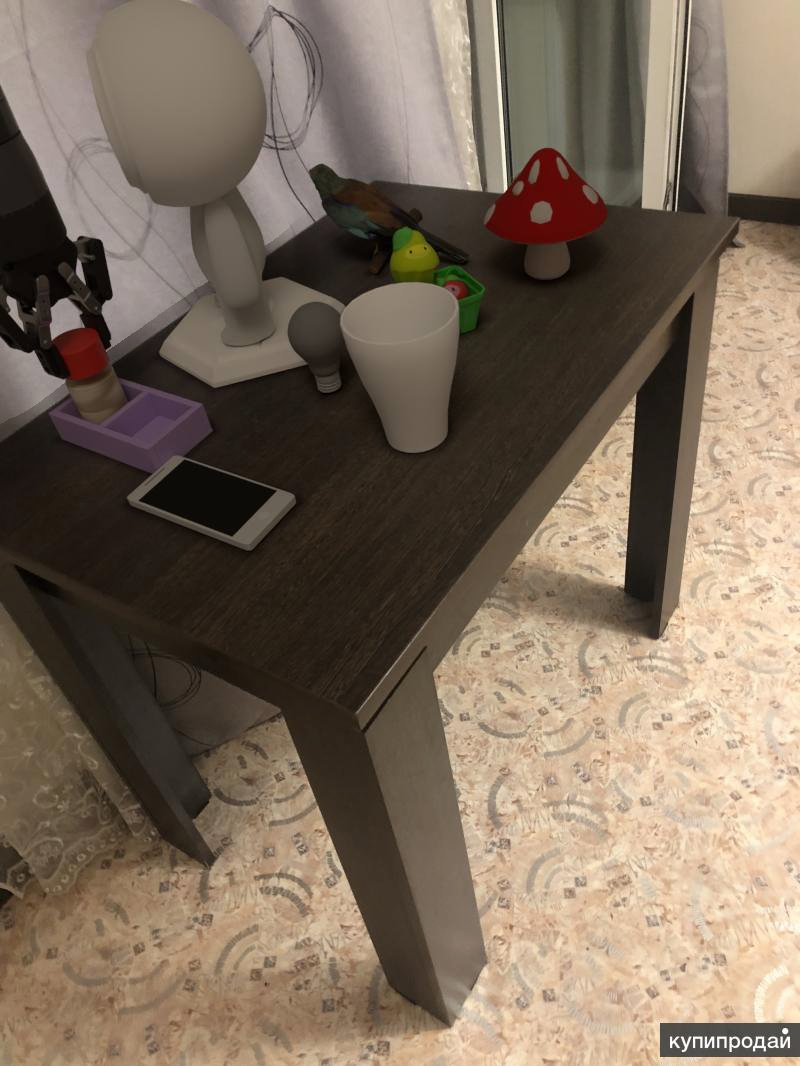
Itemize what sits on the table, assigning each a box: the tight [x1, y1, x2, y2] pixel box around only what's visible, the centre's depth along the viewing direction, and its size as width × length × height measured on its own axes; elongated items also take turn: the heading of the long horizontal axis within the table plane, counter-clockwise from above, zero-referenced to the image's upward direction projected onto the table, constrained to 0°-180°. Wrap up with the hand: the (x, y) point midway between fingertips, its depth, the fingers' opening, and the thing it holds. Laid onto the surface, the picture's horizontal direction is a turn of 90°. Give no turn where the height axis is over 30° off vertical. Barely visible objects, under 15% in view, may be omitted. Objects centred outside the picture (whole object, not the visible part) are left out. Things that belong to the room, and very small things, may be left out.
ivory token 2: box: [79, 393, 129, 425], centre depth 87 cm, size 5×5×3 cm
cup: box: [340, 282, 460, 454], centre depth 76 cm, size 10×10×14 cm
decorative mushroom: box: [483, 147, 609, 281], centre depth 94 cm, size 14×14×15 cm
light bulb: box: [287, 302, 346, 394], centre depth 84 cm, size 6×6×10 cm
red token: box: [52, 326, 110, 380], centre depth 82 cm, size 5×5×3 cm
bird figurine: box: [308, 163, 470, 275], centre depth 104 cm, size 13×10×20 cm
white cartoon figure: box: [85, 0, 346, 389], centre depth 86 cm, size 20×23×35 cm
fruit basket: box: [389, 227, 486, 335], centre depth 90 cm, size 11×9×11 cm
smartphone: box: [126, 455, 297, 551], centre depth 76 cm, size 7×15×1 cm, turn 59°
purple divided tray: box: [48, 376, 214, 475], centre depth 85 cm, size 8×15×4 cm, turn 57°
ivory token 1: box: [64, 363, 124, 413], centre depth 85 cm, size 5×5×3 cm
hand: (82, 361), depth 82 cm, fingers closed on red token, 5 cm apart
